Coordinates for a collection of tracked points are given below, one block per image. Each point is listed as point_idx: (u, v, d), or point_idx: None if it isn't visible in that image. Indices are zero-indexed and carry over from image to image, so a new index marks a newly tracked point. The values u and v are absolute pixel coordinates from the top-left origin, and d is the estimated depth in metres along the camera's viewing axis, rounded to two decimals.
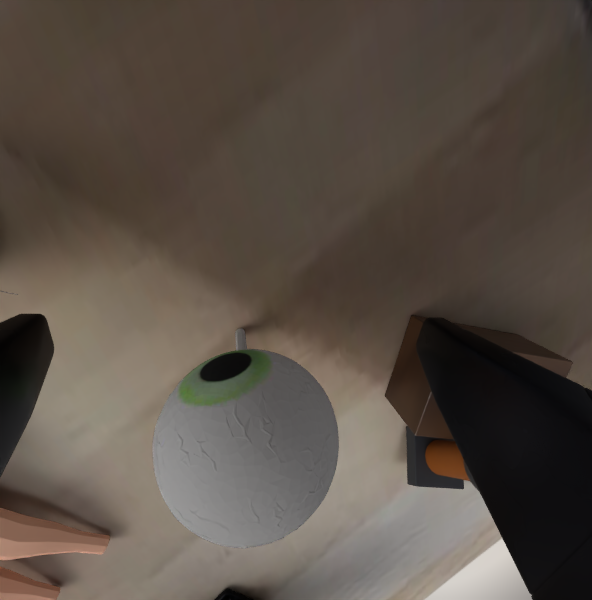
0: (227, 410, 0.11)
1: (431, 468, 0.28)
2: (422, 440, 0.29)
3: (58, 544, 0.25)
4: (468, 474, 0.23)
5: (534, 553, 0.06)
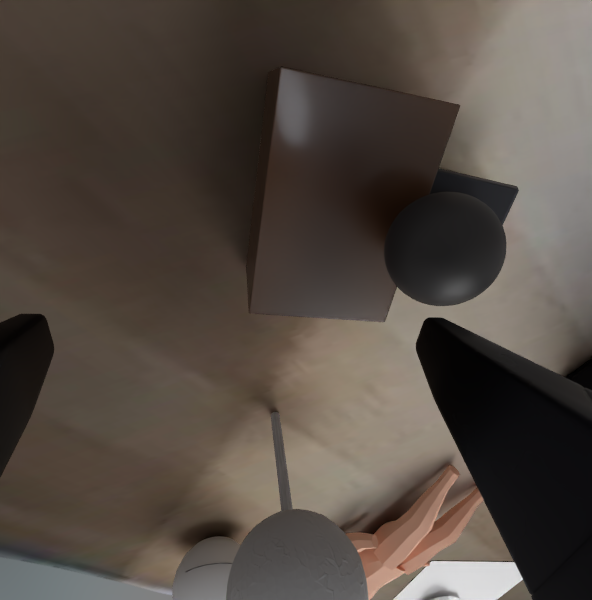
0: None
1: None
2: None
3: (435, 503, 0.34)
4: None
5: (534, 553, 0.06)
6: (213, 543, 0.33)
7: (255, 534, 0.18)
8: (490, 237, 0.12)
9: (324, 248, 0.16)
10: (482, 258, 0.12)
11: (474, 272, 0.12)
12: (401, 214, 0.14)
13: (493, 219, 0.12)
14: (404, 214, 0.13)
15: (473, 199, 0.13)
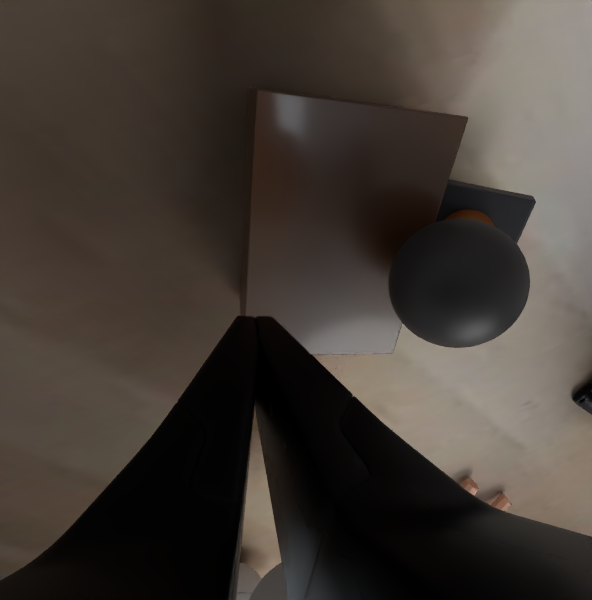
0: None
1: None
2: None
3: None
4: None
5: (293, 587, 0.06)
6: None
7: (264, 589, 0.17)
8: (512, 275, 0.10)
9: (321, 283, 0.14)
10: (504, 300, 0.10)
11: (495, 316, 0.10)
12: (406, 247, 0.12)
13: (514, 252, 0.11)
14: (409, 248, 0.12)
15: (489, 228, 0.11)
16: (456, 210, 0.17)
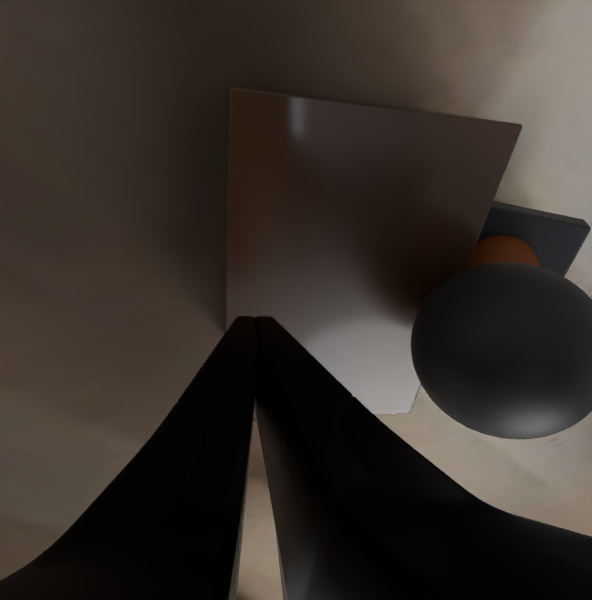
0: None
1: None
2: None
3: None
4: None
5: (293, 587, 0.06)
6: None
7: None
8: None
9: (321, 337, 0.11)
10: (585, 389, 0.07)
11: (571, 410, 0.07)
12: (437, 301, 0.09)
13: None
14: (443, 305, 0.08)
15: (558, 282, 0.08)
16: (487, 236, 0.14)
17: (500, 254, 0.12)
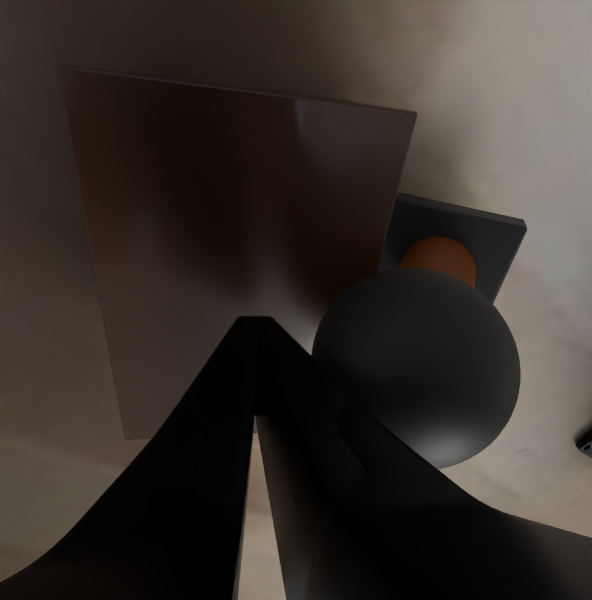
0: None
1: None
2: None
3: None
4: None
5: (291, 587, 0.06)
6: None
7: None
8: (491, 375, 0.06)
9: None
10: (478, 417, 0.06)
11: (464, 441, 0.06)
12: (331, 313, 0.08)
13: (495, 333, 0.06)
14: (333, 317, 0.07)
15: (455, 292, 0.07)
16: (423, 237, 0.13)
17: (426, 257, 0.11)
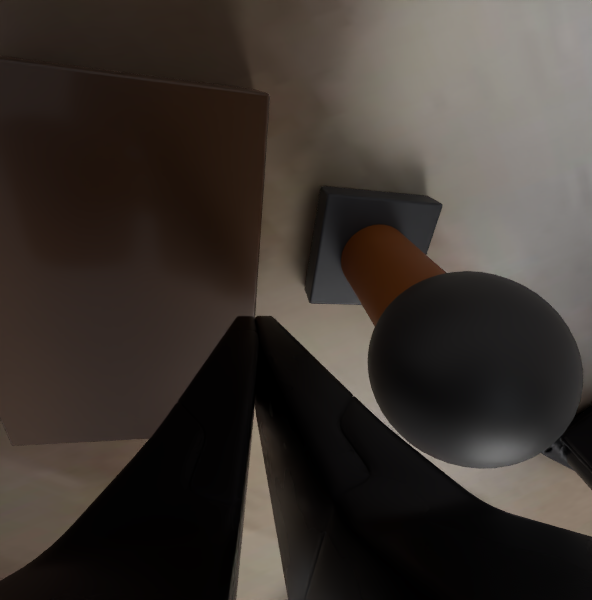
0: None
1: None
2: (337, 288, 0.14)
3: None
4: None
5: (293, 587, 0.06)
6: None
7: None
8: (579, 357, 0.07)
9: (97, 349, 0.09)
10: (580, 396, 0.07)
11: None
12: (419, 348, 0.07)
13: None
14: (432, 352, 0.07)
15: (525, 292, 0.07)
16: (360, 228, 0.13)
17: (398, 251, 0.11)
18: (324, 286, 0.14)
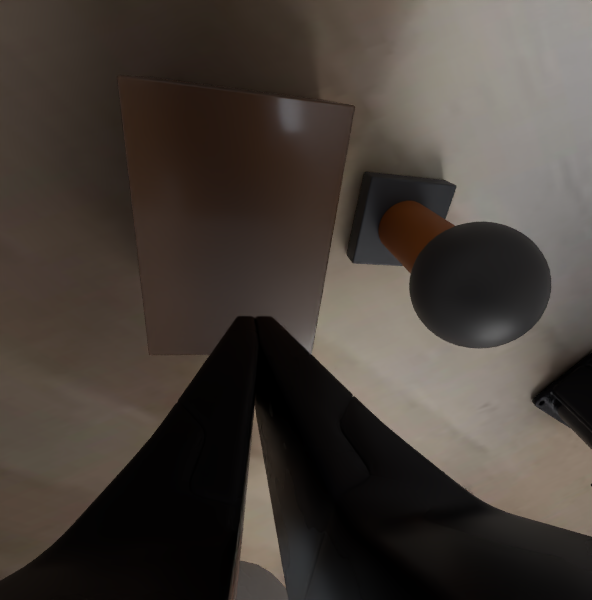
0: None
1: None
2: (374, 251, 0.18)
3: None
4: None
5: (293, 586, 0.06)
6: None
7: None
8: (549, 270, 0.11)
9: (221, 280, 0.14)
10: (549, 295, 0.11)
11: (544, 310, 0.11)
12: (448, 264, 0.11)
13: None
14: (457, 265, 0.11)
15: (515, 230, 0.11)
16: (394, 203, 0.17)
17: (426, 217, 0.15)
18: (364, 249, 0.18)
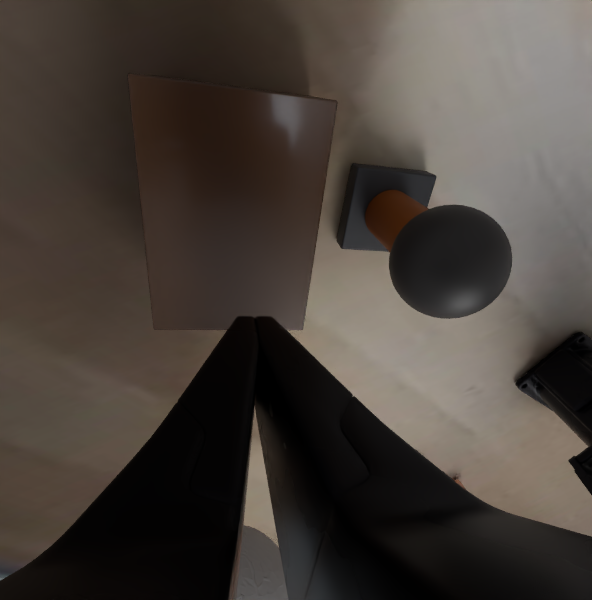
0: None
1: None
2: (361, 237, 0.20)
3: None
4: None
5: (293, 587, 0.06)
6: None
7: None
8: (509, 247, 0.13)
9: (219, 259, 0.15)
10: (509, 268, 0.13)
11: (505, 282, 0.13)
12: (420, 241, 0.13)
13: (501, 228, 0.13)
14: (427, 242, 0.12)
15: (480, 212, 0.13)
16: (379, 192, 0.19)
17: (406, 203, 0.17)
18: (352, 236, 0.20)
